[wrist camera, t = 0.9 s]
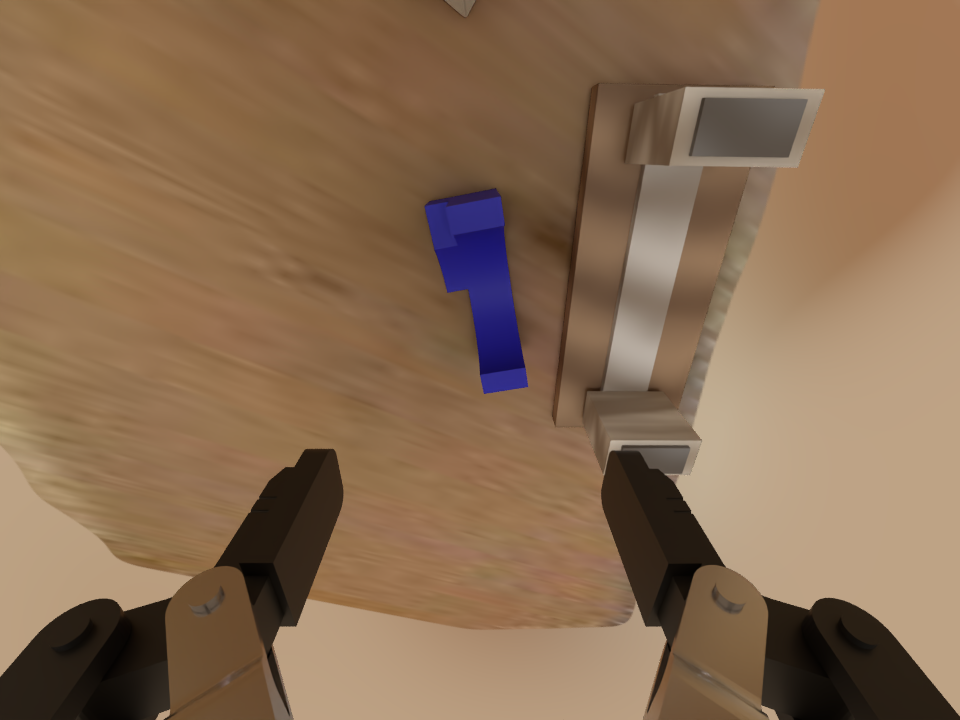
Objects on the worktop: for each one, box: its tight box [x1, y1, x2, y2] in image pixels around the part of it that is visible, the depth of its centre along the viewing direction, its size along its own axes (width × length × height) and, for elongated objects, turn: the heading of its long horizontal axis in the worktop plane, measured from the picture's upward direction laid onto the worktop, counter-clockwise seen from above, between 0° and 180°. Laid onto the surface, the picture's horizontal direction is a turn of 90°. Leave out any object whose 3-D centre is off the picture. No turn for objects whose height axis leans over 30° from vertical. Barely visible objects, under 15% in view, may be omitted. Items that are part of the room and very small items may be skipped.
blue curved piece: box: [425, 188, 528, 394], centre depth 26 cm, size 12×4×6 cm, turn 10°
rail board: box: [552, 83, 825, 475], centre depth 25 cm, size 24×10×8 cm, turn 179°
